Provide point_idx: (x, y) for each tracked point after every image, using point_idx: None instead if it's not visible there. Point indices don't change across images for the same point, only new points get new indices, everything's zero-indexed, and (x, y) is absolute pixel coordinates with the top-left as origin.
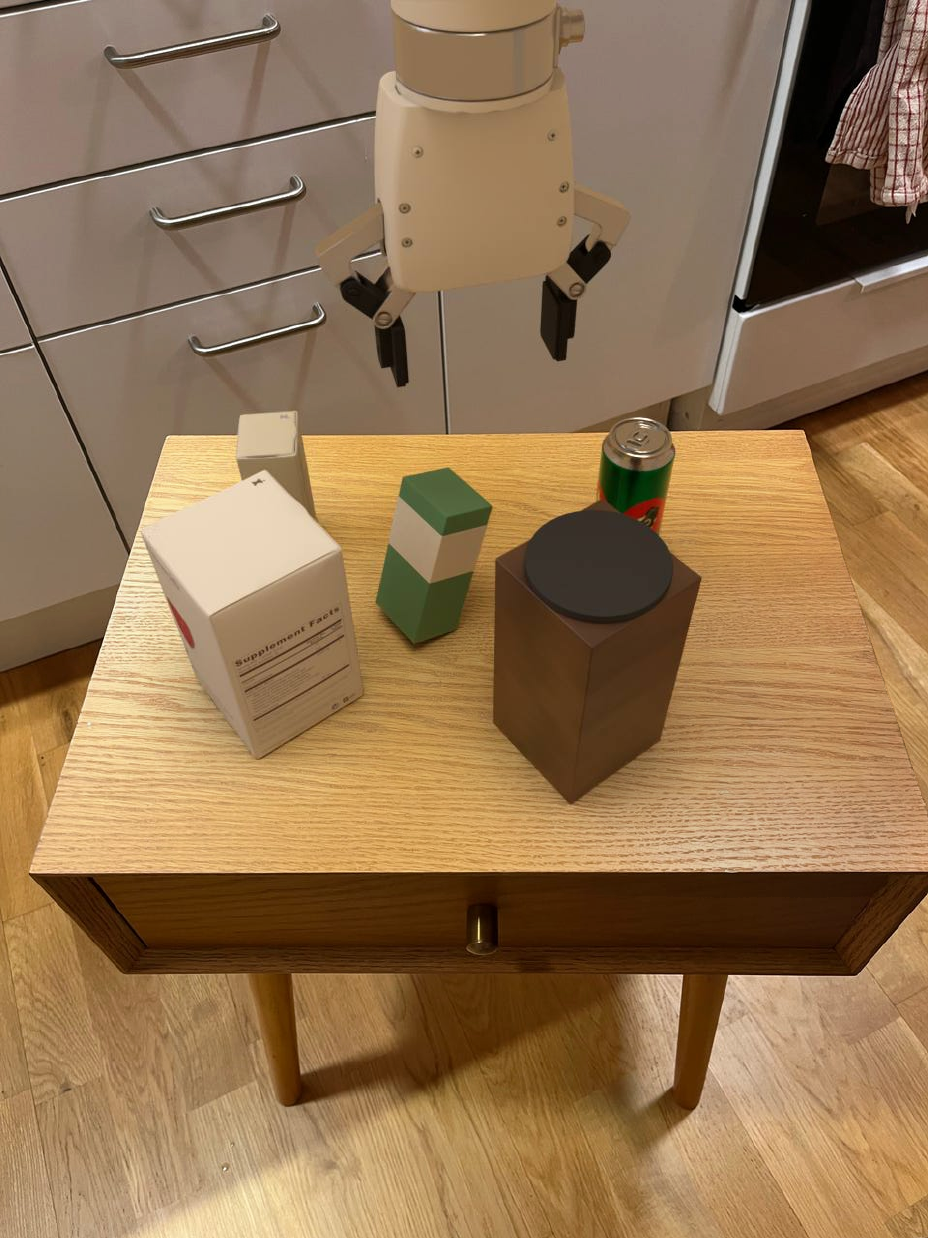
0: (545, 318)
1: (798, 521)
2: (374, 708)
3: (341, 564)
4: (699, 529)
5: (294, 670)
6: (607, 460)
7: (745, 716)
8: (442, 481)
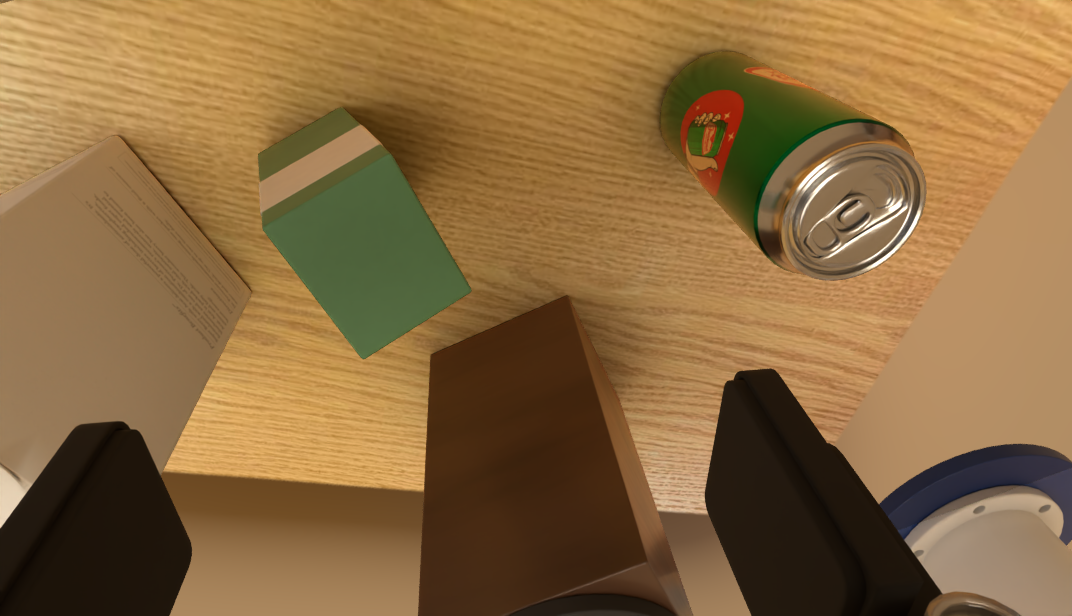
0: (760, 490)
1: (1027, 88)
2: (269, 313)
3: None
4: (871, 68)
5: None
6: (752, 224)
7: (724, 385)
8: (366, 226)
